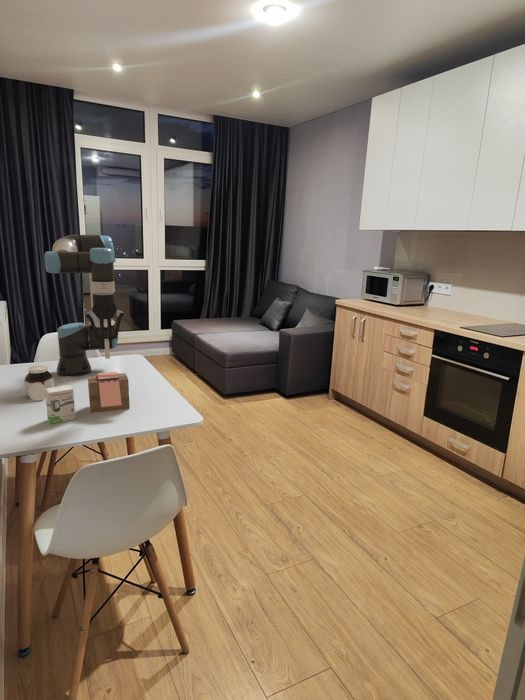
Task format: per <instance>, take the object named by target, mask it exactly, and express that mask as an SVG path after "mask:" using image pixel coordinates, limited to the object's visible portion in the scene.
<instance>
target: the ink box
mask: <svg viewBox="0 0 525 700" xmlns="http://www.w3.org/2000/svg"><path fill="white" fill-rule="evenodd" d="M45 394H46V397H45V404H46V412H47V414H46V415H47V420H48V423H49V424H51V425H52V424H57V423H63V422H67V421H73V420H76V419H77V418H76V408H75V406H76V405H75V395H74V388H73V387H72V385H70V384H68V385H67V384H66V385H59V386H54V387H52V388H47V389H45Z"/></svg>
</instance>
